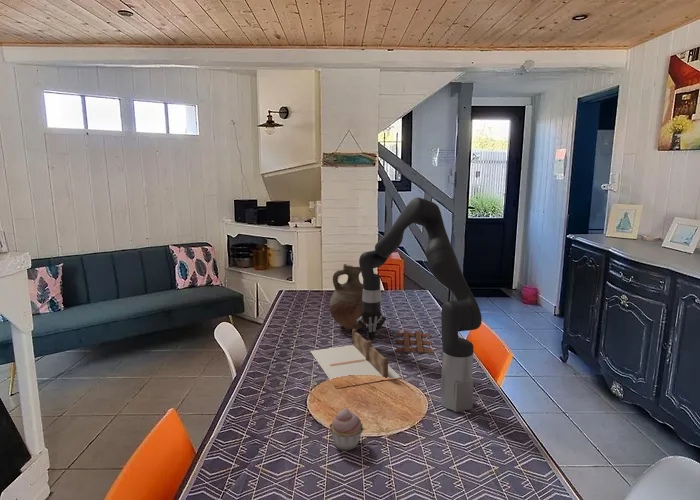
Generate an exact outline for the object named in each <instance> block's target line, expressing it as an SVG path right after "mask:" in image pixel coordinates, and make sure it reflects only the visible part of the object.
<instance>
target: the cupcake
mask: <svg viewBox="0 0 700 500" xmlns="http://www.w3.org/2000/svg"><path fill="white" fill-rule="evenodd" d="M336 414H337V415H336V416H334V418H332V421H331V422H332V423H330V424H329V426H328V427H329V432H330V435H332V440H333V443H334V446H335V447H336V448H337V449H338V450H343V451H350V450H354V449H355V448H357V446H358V445H359V442H360V438H361V435H362V434H363V432H364V430H365V429H364V427H363V426H364V424H363V423H362V421H361V419H360V417H359V416H358V415H357V414H356V413H354V412H353V411H351V410H349V409H348V407H346V408H344V409H341V410H340V411H338V413H336Z"/></svg>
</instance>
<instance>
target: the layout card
mask: <svg viewBox="0 0 700 500" xmlns="http://www.w3.org/2000/svg"><path fill="white" fill-rule="evenodd" d="M310 353H311V354H312V356H313V357H314V358H315V360H316V362H317V363H318V365H319V366H320V368H321V369H322V371H323V372H324V373H325V375H326V376H327V377H328V379H329V380H330V381H331V379H333V378H336V377H341V376H348V375H376V376H377V375H378V376H382V377H383V375H382V374H381V373H380V372H379V371H378V370H377V369H376V368H375V367H374V366H373V365H372V364H371V363H370V362H369V361H366V357H365V356H364V355H363V354H362V353H361V351H360V350H359V349H358V348H357V347H356V346H355V345H354V344H351V345H344V346H337V347H329V348H323V349H321V348H320V349H315V350H310ZM388 377H389V378H393V379H392V380H397V379H401V378H402V377H401V375H400V374H398V373H397V372H396V371H395V370H394V369H393V368H392V367H391V366H390V365H389V364H388Z"/></svg>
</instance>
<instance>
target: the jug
mask: <svg viewBox="0 0 700 500" xmlns="http://www.w3.org/2000/svg"><path fill="white" fill-rule="evenodd" d="M360 274H361V269H360V266H353V265H350V264H348V265H347V264H346V263H344V264H343V269H338V270H336V271H335V272H334V273H333V275H332V282H333V283H332V284H333V287H334V290H333V293H332V295H331V297H330V300H329V307H328V308H329V312H330V315H331V317H332V319H333V320H334V321H335V322H336V323H337V324H338V325H340V326H342V328H343V329H347V330H352V329H357V330H359V329H363V328H362V327H361V326H360V325H359V323H358V322H357V321H356V319H359V318H360V317H361V314H362V292H363V282H362V283H361V281H360ZM343 275H347V279H346V282H344V283H340V282H339V277H340V276H343ZM363 324H364V325H365V326H367V325H366V322H365V321H364V320H363Z"/></svg>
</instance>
